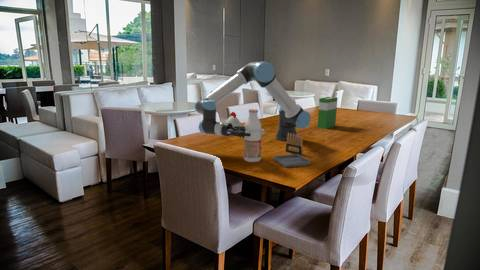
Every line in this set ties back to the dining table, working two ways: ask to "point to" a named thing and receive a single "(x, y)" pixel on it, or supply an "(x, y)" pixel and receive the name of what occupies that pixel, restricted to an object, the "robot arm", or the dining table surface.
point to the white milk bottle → (252, 144)
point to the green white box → (327, 112)
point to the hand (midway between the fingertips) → (260, 133)
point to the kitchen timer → (233, 120)
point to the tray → (291, 160)
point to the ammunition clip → (294, 144)
